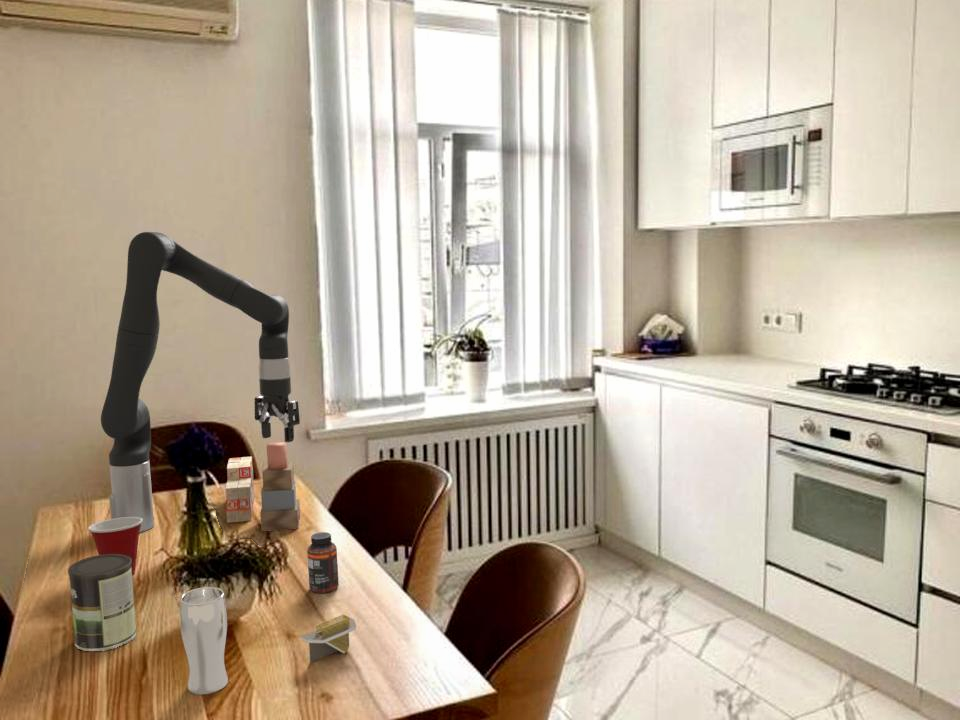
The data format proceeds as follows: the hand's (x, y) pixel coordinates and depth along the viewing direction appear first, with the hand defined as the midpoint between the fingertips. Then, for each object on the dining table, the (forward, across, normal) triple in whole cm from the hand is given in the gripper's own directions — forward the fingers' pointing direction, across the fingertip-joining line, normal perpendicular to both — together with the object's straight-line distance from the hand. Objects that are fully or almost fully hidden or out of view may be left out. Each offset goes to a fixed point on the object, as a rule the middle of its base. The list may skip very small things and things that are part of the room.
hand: (277, 439), depth 204 cm
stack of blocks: (+22, +19, -2) cm, 30 cm away
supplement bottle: (+22, -39, +22) cm, 50 cm away
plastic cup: (+22, +4, +42) cm, 48 cm away
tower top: (+12, +1, 0) cm, 12 cm away
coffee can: (+22, -23, +59) cm, 67 cm away
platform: (+23, -61, +41) cm, 77 cm away
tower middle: (+17, +1, 0) cm, 17 cm away
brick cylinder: (+7, 0, 0) cm, 7 cm away
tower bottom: (+22, 0, 0) cm, 22 cm away
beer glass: (+22, -52, +59) cm, 81 cm away
